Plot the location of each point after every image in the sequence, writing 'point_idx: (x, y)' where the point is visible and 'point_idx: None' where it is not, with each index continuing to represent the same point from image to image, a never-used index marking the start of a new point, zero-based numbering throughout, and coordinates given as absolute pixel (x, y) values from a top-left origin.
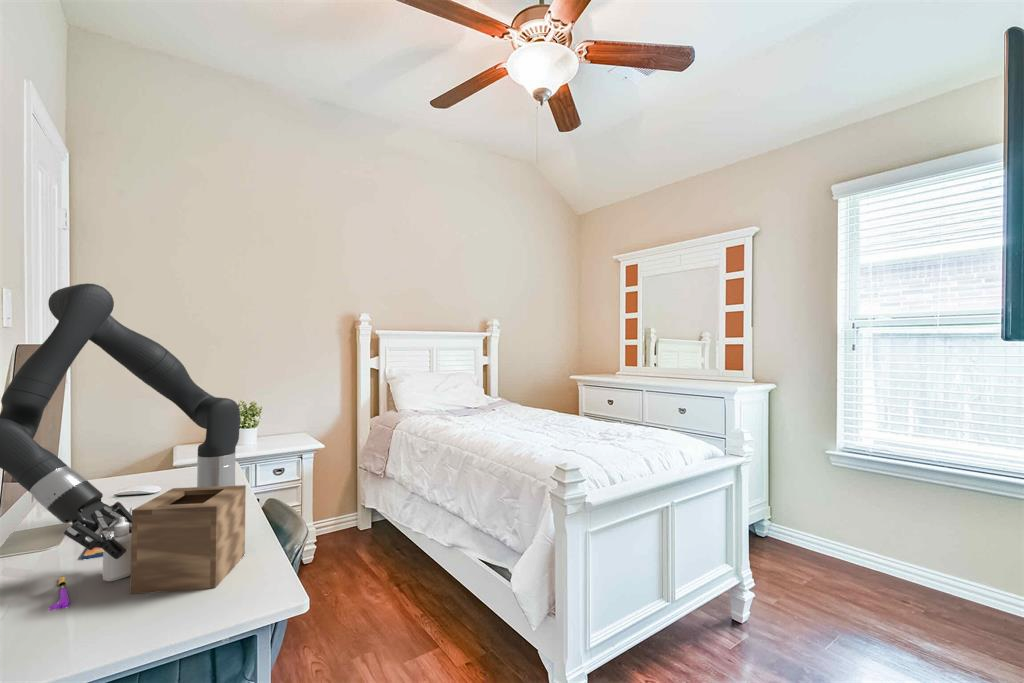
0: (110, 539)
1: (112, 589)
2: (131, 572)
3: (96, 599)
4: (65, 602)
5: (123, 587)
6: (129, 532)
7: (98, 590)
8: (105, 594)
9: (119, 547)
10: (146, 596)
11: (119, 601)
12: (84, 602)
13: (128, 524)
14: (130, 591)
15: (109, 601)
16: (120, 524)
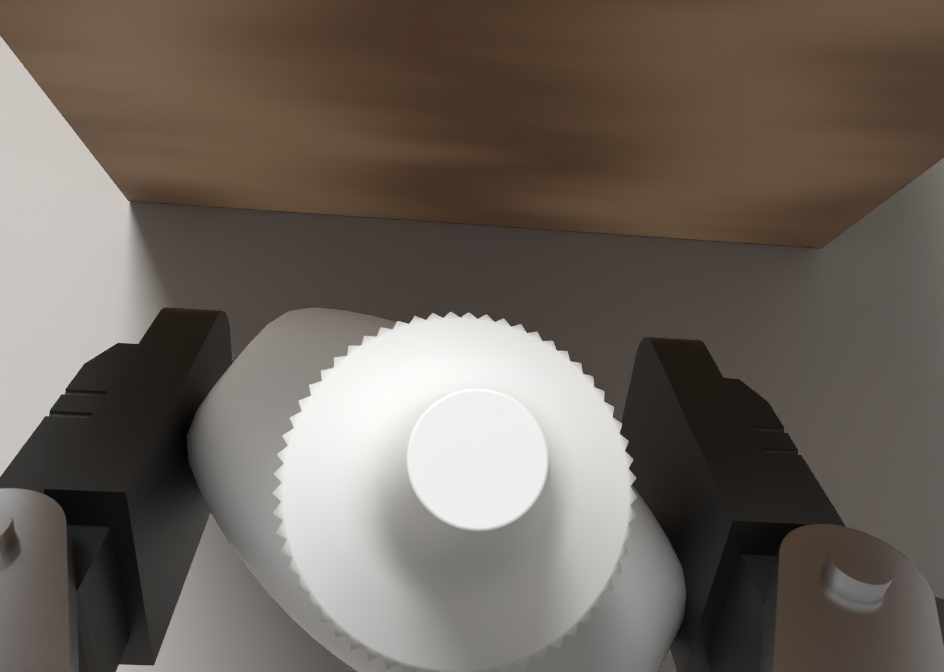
0: (583, 649)
1: None
2: (941, 152)
3: (889, 483)
4: None
5: None
6: (157, 497)
7: None
8: (803, 458)
9: (723, 393)
10: None
11: (932, 273)
12: (936, 558)
13: (450, 313)
14: (835, 237)
15: (928, 351)
16: (579, 455)
